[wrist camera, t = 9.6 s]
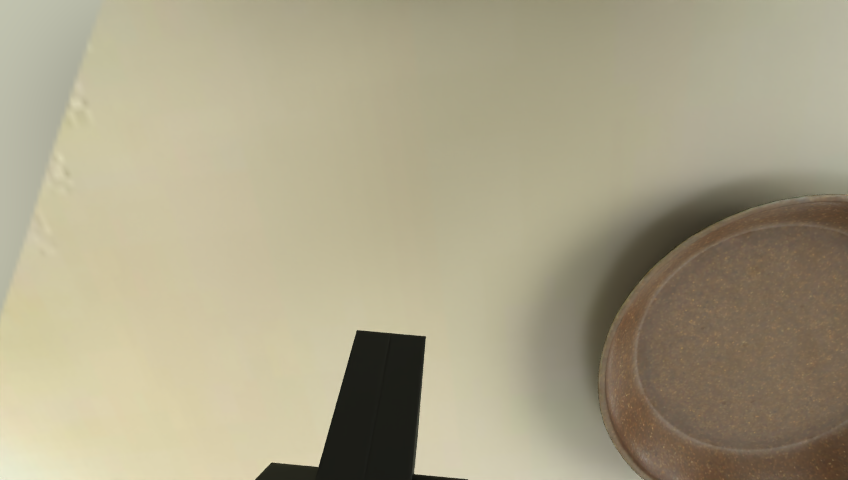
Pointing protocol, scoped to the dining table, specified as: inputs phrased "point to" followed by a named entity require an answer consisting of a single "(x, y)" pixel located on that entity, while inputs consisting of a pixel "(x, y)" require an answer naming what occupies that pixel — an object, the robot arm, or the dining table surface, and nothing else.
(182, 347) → the dining table surface
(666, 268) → the saucer
